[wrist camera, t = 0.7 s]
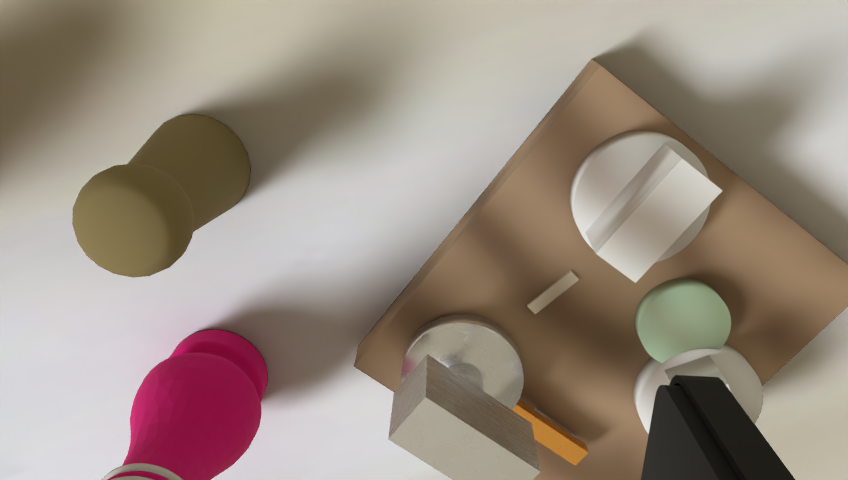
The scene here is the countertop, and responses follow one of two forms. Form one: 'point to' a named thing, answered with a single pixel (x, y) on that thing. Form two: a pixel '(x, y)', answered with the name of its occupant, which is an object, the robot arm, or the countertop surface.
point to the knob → (471, 404)
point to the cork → (161, 196)
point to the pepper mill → (196, 410)
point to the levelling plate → (620, 276)
